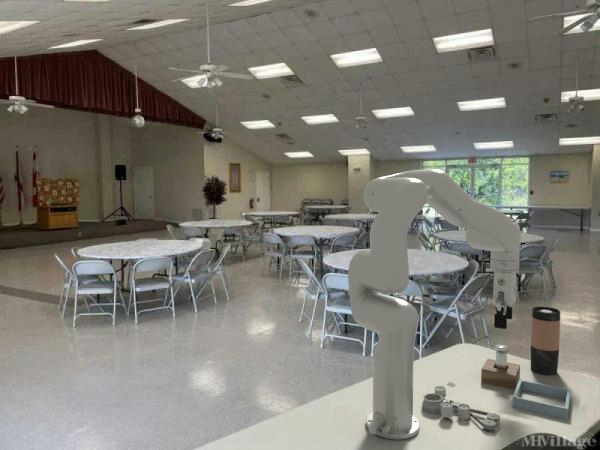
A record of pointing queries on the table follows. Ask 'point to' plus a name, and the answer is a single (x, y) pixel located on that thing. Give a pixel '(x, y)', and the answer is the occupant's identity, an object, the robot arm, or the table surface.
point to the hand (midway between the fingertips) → (503, 323)
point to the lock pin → (501, 356)
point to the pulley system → (438, 406)
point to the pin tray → (541, 406)
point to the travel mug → (545, 340)
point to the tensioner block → (500, 374)
